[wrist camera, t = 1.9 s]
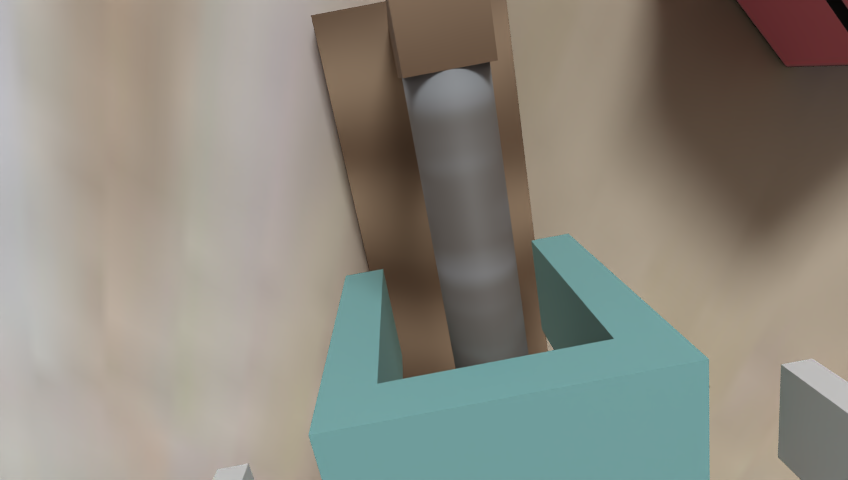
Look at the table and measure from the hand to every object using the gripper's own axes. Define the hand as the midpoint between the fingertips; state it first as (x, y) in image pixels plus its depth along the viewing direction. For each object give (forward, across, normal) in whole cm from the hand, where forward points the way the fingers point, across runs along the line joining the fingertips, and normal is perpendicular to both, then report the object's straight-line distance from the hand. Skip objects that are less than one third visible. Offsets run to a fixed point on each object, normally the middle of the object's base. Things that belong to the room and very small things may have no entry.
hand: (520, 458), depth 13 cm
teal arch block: (+9, 0, 0) cm, 9 cm away
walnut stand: (+14, 0, 0) cm, 14 cm away
